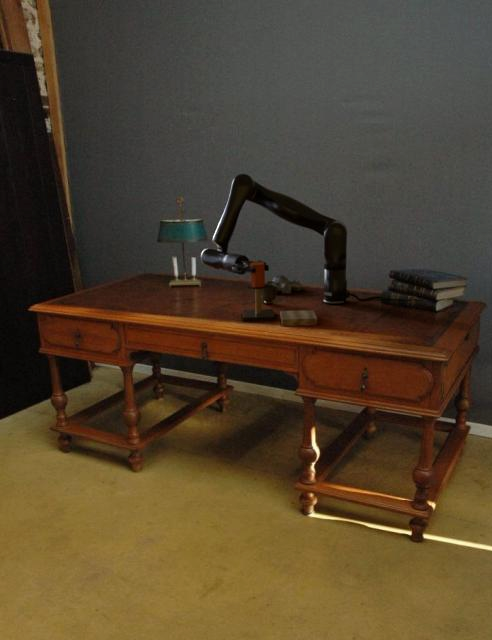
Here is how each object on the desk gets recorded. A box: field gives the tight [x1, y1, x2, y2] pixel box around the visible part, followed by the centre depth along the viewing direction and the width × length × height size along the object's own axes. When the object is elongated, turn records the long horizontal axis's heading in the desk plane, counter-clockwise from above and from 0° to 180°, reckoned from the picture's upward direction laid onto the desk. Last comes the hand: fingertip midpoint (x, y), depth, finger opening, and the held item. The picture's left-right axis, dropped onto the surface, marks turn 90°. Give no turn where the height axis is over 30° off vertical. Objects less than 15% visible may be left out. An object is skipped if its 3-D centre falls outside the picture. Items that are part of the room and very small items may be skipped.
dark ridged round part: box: [261, 284, 277, 306], centre depth 277 cm, size 8×7×8 cm
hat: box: [247, 261, 269, 290], centre depth 253 cm, size 8×8×9 cm
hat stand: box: [242, 287, 276, 322], centre depth 256 cm, size 12×12×14 cm
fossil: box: [265, 274, 303, 295], centre depth 301 cm, size 18×11×15 cm
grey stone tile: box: [279, 309, 318, 327], centre depth 251 cm, size 13×13×2 cm
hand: (261, 269), depth 250 cm, fingers closed on hat, 5 cm apart
